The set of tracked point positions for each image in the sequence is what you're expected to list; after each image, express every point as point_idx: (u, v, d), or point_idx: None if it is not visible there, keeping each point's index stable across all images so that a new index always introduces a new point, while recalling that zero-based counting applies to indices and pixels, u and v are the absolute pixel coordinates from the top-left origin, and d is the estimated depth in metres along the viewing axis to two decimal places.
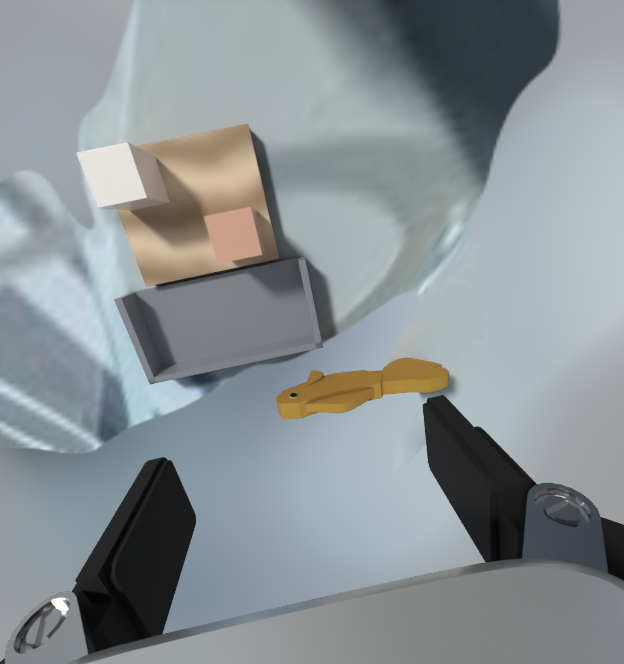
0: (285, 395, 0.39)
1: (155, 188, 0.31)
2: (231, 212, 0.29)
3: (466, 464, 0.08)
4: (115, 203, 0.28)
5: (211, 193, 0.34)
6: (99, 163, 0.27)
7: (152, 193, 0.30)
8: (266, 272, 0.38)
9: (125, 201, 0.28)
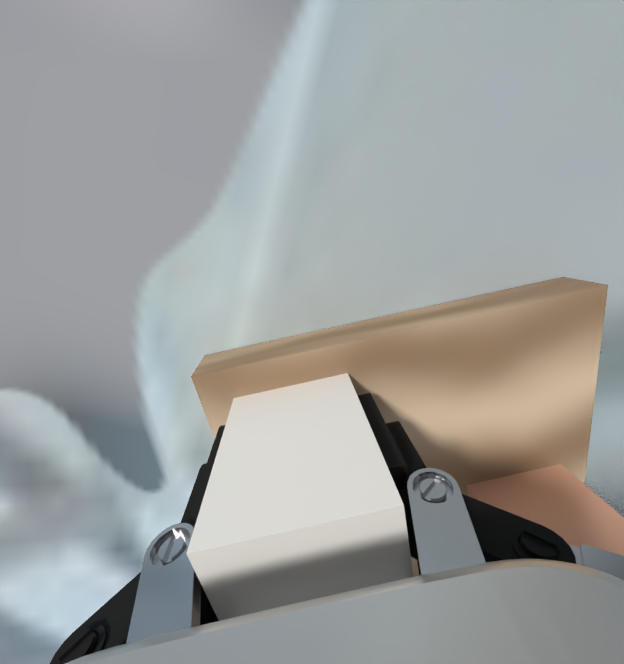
0: None
1: None
2: None
3: None
4: None
5: (468, 439, 0.13)
6: (275, 575, 0.07)
7: None
8: None
9: None
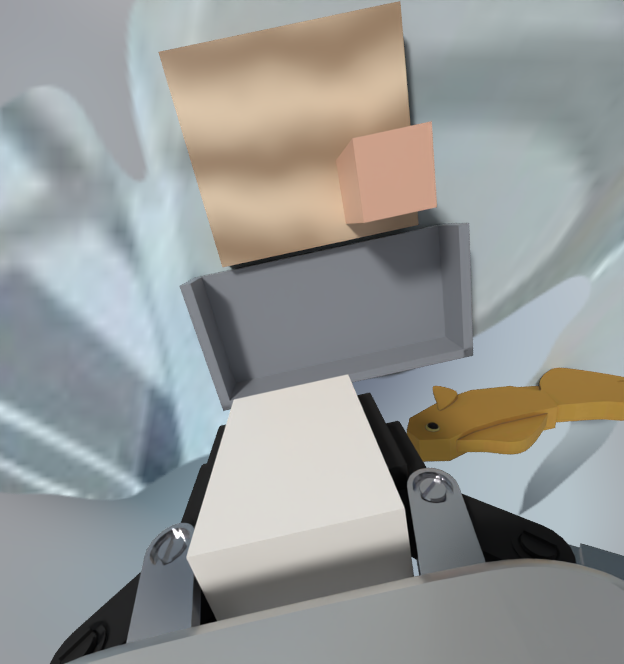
0: (418, 425, 0.27)
1: None
2: (398, 131, 0.17)
3: None
4: None
5: (331, 120, 0.22)
6: (275, 578, 0.07)
7: None
8: (393, 246, 0.26)
9: None
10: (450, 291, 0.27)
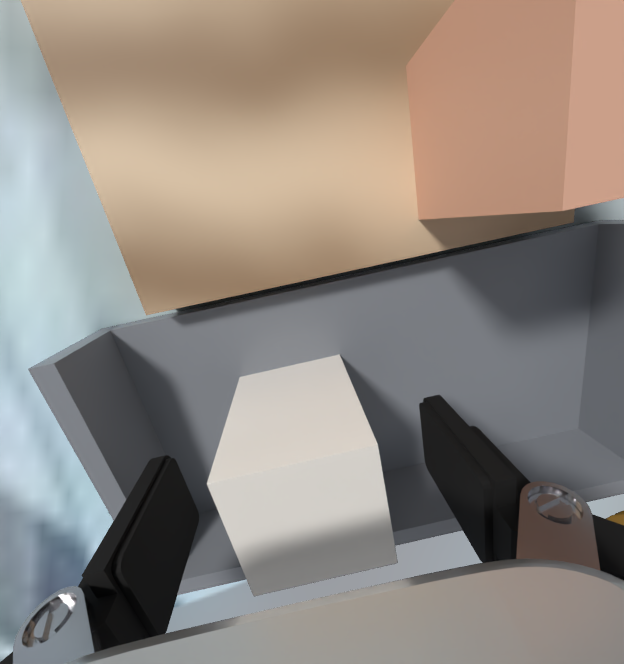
0: None
1: None
2: None
3: (461, 462, 0.08)
4: (304, 581, 0.09)
5: None
6: (277, 503, 0.08)
7: None
8: (503, 266, 0.13)
9: None
10: (617, 357, 0.13)
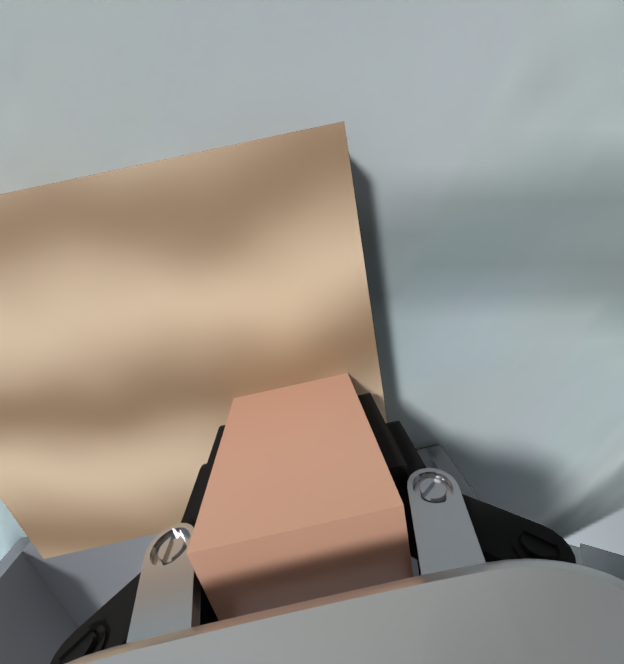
0: None
1: None
2: (314, 530, 0.06)
3: None
4: None
5: (217, 336, 0.11)
6: None
7: None
8: None
9: None
10: None
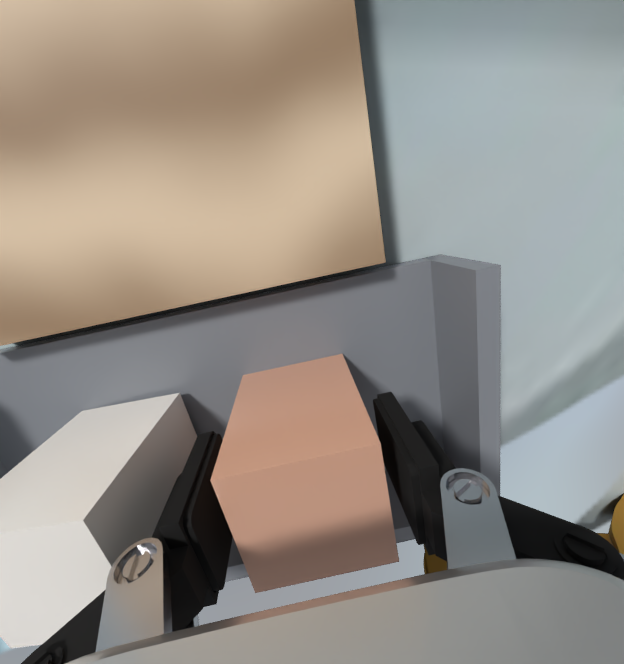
0: None
1: None
2: (310, 463, 0.08)
3: (398, 453, 0.09)
4: None
5: (152, 6, 0.09)
6: None
7: None
8: (337, 301, 0.13)
9: None
10: (454, 392, 0.13)
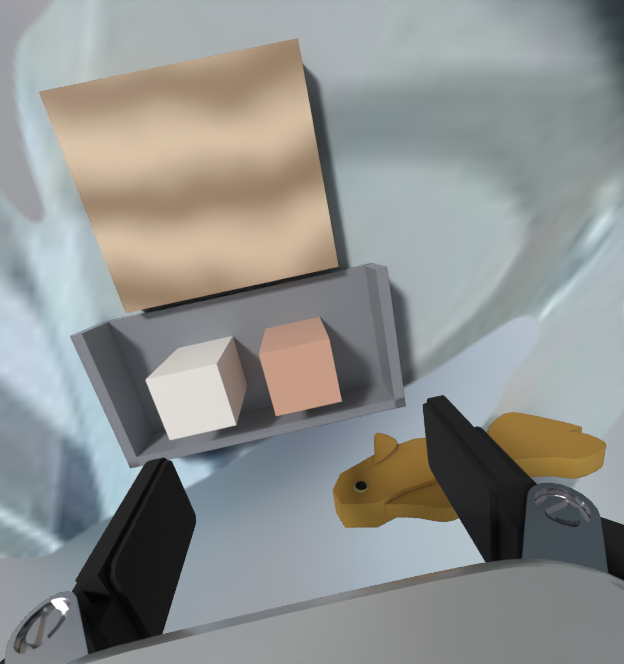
0: (346, 483, 0.24)
1: (238, 390, 0.23)
2: (300, 347, 0.19)
3: (466, 464, 0.08)
4: (193, 433, 0.21)
5: (233, 159, 0.20)
6: (176, 390, 0.20)
7: (238, 404, 0.22)
8: (316, 287, 0.24)
9: (206, 430, 0.21)
10: (379, 336, 0.24)
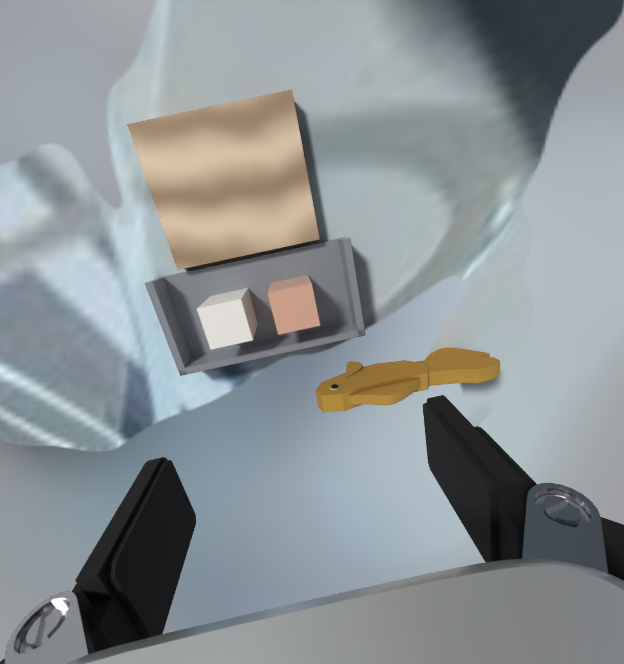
0: (325, 386, 0.36)
1: (252, 322, 0.35)
2: (293, 289, 0.31)
3: (466, 464, 0.08)
4: (225, 345, 0.32)
5: (250, 167, 0.31)
6: (215, 316, 0.31)
7: (253, 330, 0.34)
8: (305, 254, 0.36)
9: (234, 343, 0.32)
10: (348, 287, 0.36)
